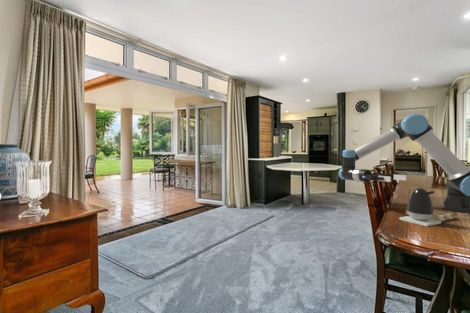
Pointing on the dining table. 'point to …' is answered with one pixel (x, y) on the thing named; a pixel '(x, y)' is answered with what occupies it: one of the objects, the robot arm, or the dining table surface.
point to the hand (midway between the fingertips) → (398, 178)
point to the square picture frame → (440, 215)
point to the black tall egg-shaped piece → (420, 205)
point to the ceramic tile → (424, 223)
